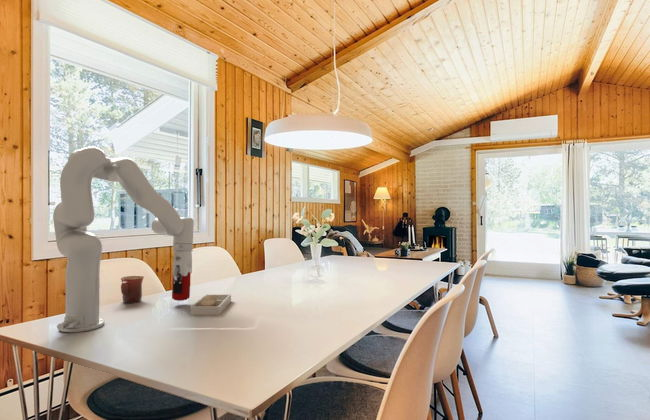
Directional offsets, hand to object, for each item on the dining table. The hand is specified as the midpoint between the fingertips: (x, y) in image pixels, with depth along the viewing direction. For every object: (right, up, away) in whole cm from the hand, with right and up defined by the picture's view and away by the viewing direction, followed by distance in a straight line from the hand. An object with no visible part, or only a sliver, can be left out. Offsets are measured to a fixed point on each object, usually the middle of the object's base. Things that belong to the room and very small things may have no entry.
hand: (181, 291), depth 152 cm
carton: (+14, -6, -4) cm, 16 cm away
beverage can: (0, -4, 0) cm, 4 cm away
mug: (-24, -6, +6) cm, 25 cm away
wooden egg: (+14, -6, -9) cm, 17 cm away
